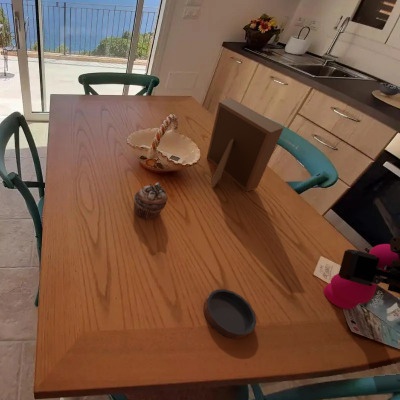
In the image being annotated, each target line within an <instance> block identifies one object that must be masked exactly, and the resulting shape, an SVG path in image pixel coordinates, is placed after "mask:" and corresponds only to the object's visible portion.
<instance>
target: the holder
mask: <svg viewBox="0 0 400 400" xmlns="http://www.w3.org/2000/svg"><path fill="white" fill-rule="evenodd" d="M202 309H203V314H204V317H205V319H206V321H207V323H208V324H209V326H211V328H212V329H213V330H214V331H215V332H217V333H218V334H220V335H221V336H223V337H226V338H228V339H232V340H241V339H243V338H245V337H247V336H248V335H250V334H251V333H252V332H253V331H255V330H256V326H257V317H256V313H255V311H254V309H253V307H252V305H251V304H250V303H249V302H248V301H247V300H246V299H245V298H244V296H242V295H240V294H239V293H237V292H236V291H232V290H229V289H226V288H220V289H219V288H218V289H215V290H213V291H211V292H209V294H208V295H207V297H206V298H205V300H204V302H203V305H202Z"/></svg>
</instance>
